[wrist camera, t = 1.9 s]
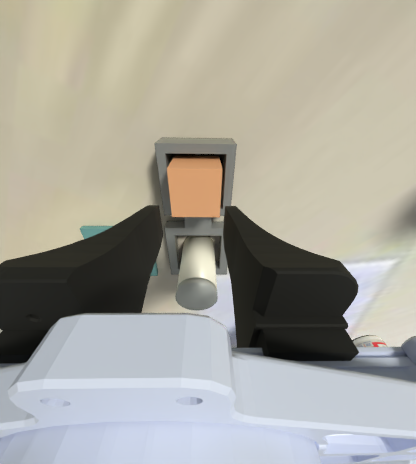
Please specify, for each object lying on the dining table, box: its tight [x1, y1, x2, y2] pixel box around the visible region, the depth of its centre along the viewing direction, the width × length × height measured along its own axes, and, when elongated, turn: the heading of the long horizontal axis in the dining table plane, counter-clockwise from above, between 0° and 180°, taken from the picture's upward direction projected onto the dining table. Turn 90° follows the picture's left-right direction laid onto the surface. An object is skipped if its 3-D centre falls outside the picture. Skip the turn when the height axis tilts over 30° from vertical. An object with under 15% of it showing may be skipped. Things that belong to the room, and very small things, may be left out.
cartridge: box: [176, 235, 217, 310], centre depth 21 cm, size 4×4×8 cm
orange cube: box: [167, 156, 222, 217], centre depth 16 cm, size 4×4×4 cm
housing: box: [155, 138, 237, 274], centre depth 21 cm, size 16×8×3 cm, turn 179°
